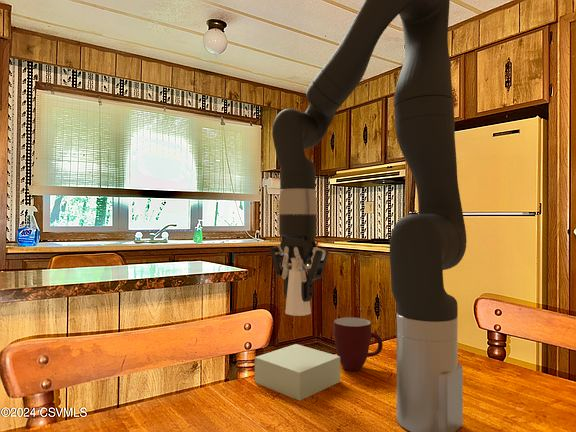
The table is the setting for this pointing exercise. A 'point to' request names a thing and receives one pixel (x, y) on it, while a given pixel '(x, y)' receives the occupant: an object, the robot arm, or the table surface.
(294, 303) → the salt shaker
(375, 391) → the table surface
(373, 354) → the mug
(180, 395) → the table surface
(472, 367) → the table surface
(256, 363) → the sage box
